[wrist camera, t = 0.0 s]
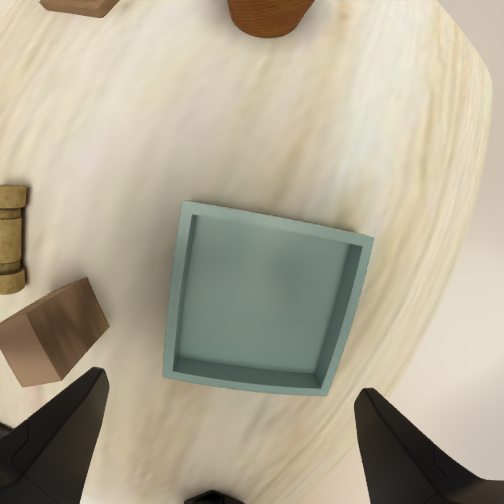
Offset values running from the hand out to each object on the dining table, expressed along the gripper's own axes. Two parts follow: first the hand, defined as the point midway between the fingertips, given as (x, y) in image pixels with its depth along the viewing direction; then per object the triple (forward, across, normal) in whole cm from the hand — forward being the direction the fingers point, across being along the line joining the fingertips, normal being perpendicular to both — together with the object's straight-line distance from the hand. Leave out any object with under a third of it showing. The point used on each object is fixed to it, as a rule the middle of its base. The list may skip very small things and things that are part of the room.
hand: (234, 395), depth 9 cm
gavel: (+16, +31, +2) cm, 35 cm away
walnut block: (+14, +14, +9) cm, 22 cm away
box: (+15, -2, +6) cm, 16 cm away
